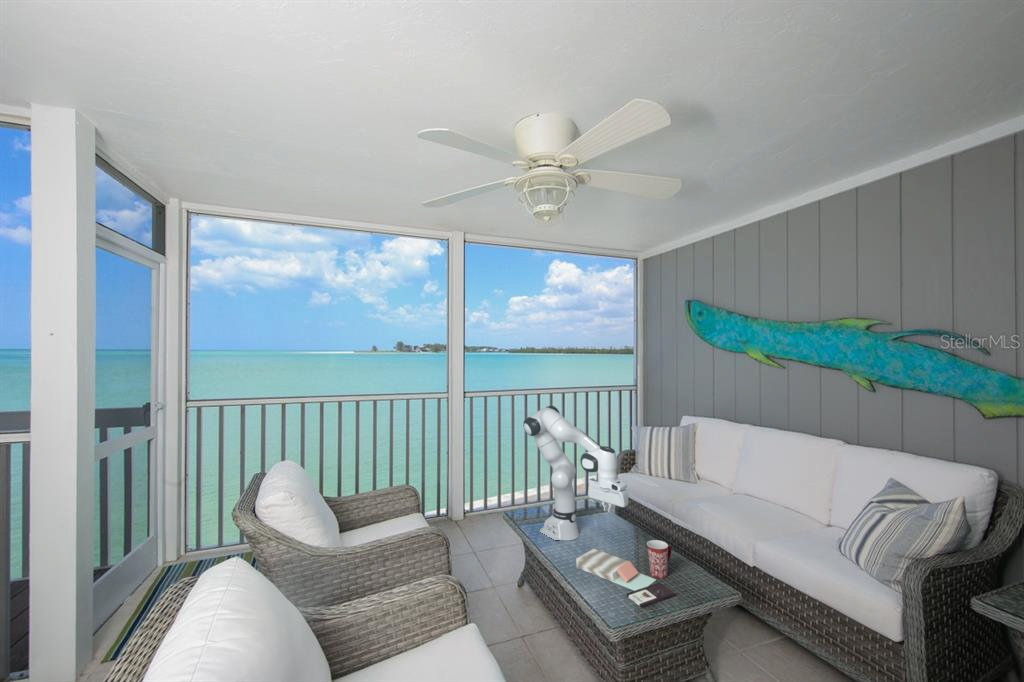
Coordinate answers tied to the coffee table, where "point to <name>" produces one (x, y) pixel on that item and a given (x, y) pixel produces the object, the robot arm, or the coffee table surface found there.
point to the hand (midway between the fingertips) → (607, 511)
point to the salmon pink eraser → (627, 571)
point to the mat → (636, 582)
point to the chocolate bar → (650, 595)
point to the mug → (658, 557)
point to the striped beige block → (600, 564)
